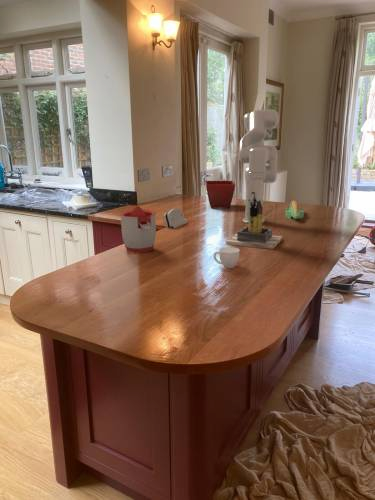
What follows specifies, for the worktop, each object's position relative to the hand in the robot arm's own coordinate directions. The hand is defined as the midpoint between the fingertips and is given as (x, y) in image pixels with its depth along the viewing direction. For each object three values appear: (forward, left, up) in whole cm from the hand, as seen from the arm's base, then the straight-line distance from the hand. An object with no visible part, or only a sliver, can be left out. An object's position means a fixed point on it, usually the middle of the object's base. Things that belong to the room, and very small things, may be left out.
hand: (255, 214), depth 188 cm
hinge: (-18, -52, -14) cm, 56 cm away
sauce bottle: (0, 0, -10) cm, 10 cm away
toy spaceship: (-63, +6, -14) cm, 65 cm away
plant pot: (-79, -48, -13) cm, 93 cm away
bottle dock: (0, 0, -13) cm, 13 cm away
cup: (+39, 0, -13) cm, 41 cm away
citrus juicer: (+33, -43, -13) cm, 56 cm away
